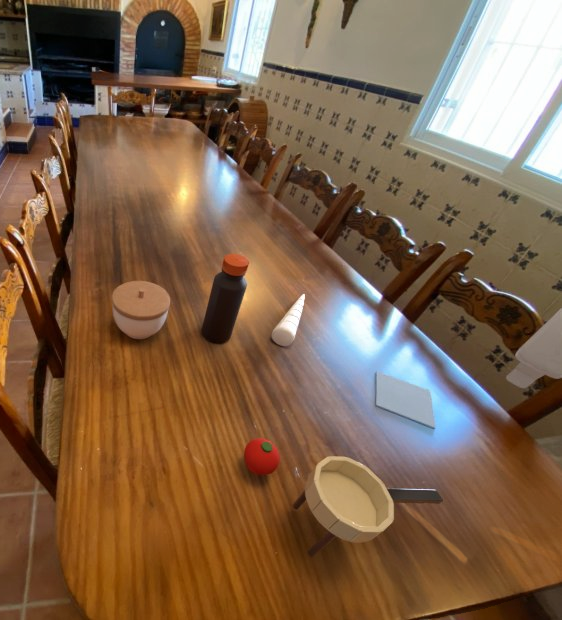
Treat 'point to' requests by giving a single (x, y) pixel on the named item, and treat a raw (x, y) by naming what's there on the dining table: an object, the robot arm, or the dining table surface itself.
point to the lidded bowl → (140, 308)
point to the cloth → (404, 399)
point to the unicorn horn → (288, 324)
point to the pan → (353, 501)
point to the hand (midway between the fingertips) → (531, 365)
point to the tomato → (261, 456)
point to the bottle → (225, 299)
